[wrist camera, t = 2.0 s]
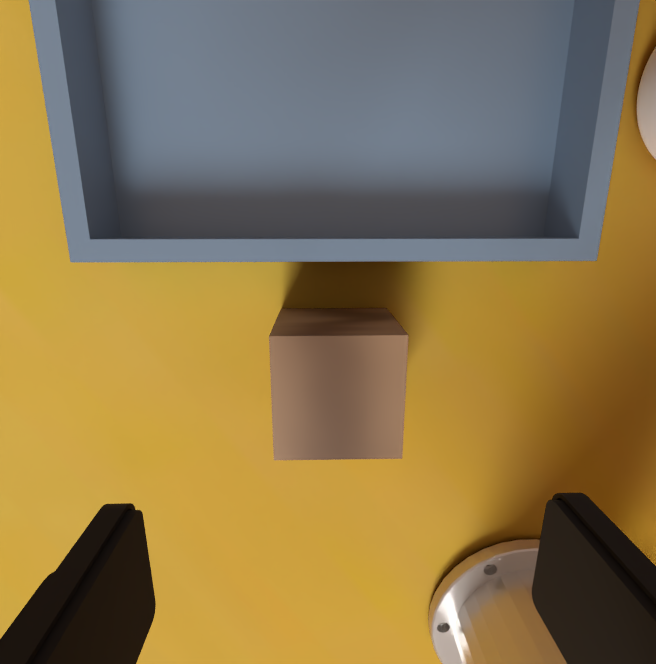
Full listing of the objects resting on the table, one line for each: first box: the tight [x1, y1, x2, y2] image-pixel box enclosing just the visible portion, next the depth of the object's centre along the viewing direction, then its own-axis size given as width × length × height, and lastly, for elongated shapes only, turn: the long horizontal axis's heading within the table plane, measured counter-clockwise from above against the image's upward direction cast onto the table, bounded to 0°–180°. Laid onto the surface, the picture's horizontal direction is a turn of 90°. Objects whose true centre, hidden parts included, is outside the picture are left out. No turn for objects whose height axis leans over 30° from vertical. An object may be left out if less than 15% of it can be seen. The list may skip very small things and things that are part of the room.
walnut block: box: [269, 308, 408, 460], centre depth 21 cm, size 6×6×6 cm
